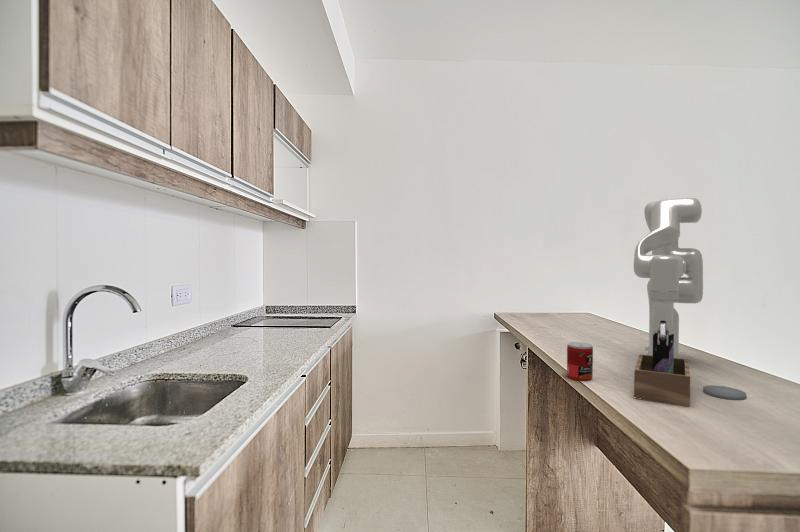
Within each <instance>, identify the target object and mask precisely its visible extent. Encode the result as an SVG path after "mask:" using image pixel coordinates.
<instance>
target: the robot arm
mask: <svg viewBox="0 0 800 532" xmlns="http://www.w3.org/2000/svg"><path fill="white" fill-rule="evenodd" d="M643 210H644V211H643V212H644V219H645V222H646V225H647V227H648V229H649V232H648V233H647V234H646V235H645V236H643V238H641V240H639V242H638V243H637V245H636V246H635V249H634V257H633V272H634V274H635V275H636V276H637V277H638V278H641V279H649V280H648V282H647V285H646V291H647V298H648V304H649V305H648V307H649V310H648V311H649V313H648V315H649V317H648V318H649V319H648V320H649V321H648V322H649V324H648V327H649V328H648V346H645V347H644V351H647V354H646V355H651V356H653V334H654V335H655V333H657V332H658V344H657V358H664V359H669V345H668V337H669V336H670V335H671V332H672V329H673V330H674V331H673V332H674V358H679V359H683V358H682V357H680V356H679V350H680V349H679V347H680V346H679V345H680V342H679V340H680V339H679V338H680V337H679V336H680V335H679V334H680V314H679V312H678V311H677V309H676V308H675V306H674V305H675V304H698V303H701V301H702V299H703V295H704V260H703V255H702V253H701V250H699V249H697V248H694V247H692V248H691V247H688V248H687V247H683V248H681V247H679V238H680V236H681V224H687V223H688V224H689V223H694V224H696V223H698V222H699V221H700V220H701V218H702V213H703V212H702V211H703V209H702V204H701V202H700V200H699V199H698V198H696V197H686V198H685V197H683V198H681V197H680V198H670V199H667V198H666V199H661V200H658V201H657V200H656V201H652V202H649V203H647V204H646V205H645V207H644V209H643ZM649 252H651V254H648V253H649ZM683 275H686V276H687V277H685V276H684V277H683ZM665 325H666V327H665ZM668 331H669V333H668ZM659 332H660V334H659ZM665 333H667V335H665ZM668 334H669V335H668Z"/></svg>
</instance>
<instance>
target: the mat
mask: <svg viewBox="0 0 800 532" xmlns="http://www.w3.org/2000/svg"><path fill="white" fill-rule="evenodd" d="M702 391H703V393H704V394H705V395H708V396H710V397H713V398H717V399H722V400H729V401H730V400H731V401H744V400H747V393H746V392H745V391H743V390H741V389H737V388H734V387H730V386H724V385H704V386H703V387H702Z"/></svg>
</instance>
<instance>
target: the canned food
mask: <svg viewBox="0 0 800 532" xmlns="http://www.w3.org/2000/svg"><path fill="white" fill-rule="evenodd" d="M566 347H567V348H566V374H567V377H568V378H569V379H571V380H575V381H579V382H588V381H587V380H589V381H591V380H593V379H592V378H593V370H594V368H593V366H594V364H593V363H594V346H593V344H591V343H588V342H583V341H571V342H570V341H569V342H567V345H566Z"/></svg>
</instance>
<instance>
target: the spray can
mask: <svg viewBox="0 0 800 532" xmlns="http://www.w3.org/2000/svg"><path fill="white" fill-rule="evenodd" d="M665 327H666V325H665ZM673 331H674V330H673V329H672V332H671V335H670V336H669V337H668V345H669V359H664V358H657V344H658V332H657V333H655V335H654V334H653V363H652V371H654V372H662V373H670V374H673V360H674V332H673ZM668 333H669V331H668ZM659 334H660V332H659ZM665 335H667V333H665ZM668 335H669V334H668Z"/></svg>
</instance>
